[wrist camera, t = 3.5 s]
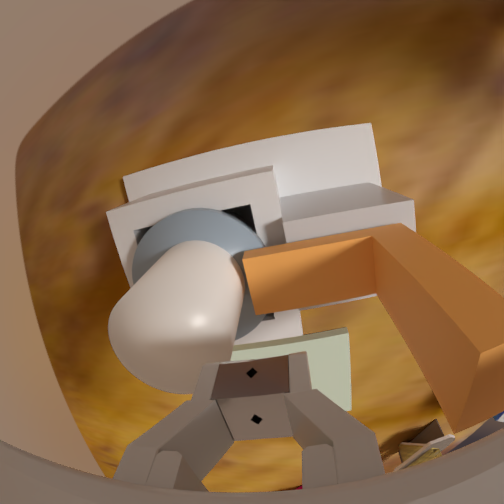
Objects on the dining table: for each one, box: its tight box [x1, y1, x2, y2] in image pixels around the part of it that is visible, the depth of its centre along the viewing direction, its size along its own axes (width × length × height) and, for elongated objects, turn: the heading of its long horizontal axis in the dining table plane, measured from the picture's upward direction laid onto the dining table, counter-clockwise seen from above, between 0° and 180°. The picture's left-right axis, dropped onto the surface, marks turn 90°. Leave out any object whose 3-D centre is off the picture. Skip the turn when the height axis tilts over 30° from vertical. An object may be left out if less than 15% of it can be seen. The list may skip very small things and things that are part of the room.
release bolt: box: [242, 223, 504, 434], centre depth 10 cm, size 8×3×10 cm, turn 102°
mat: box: [231, 327, 351, 411], centre depth 29 cm, size 14×11×1 cm
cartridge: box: [108, 208, 266, 394], centre depth 18 cm, size 8×8×14 cm
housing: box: [106, 123, 416, 345], centre depth 20 cm, size 20×14×9 cm
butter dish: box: [394, 419, 455, 471], centre depth 30 cm, size 12×18×7 cm, turn 153°
